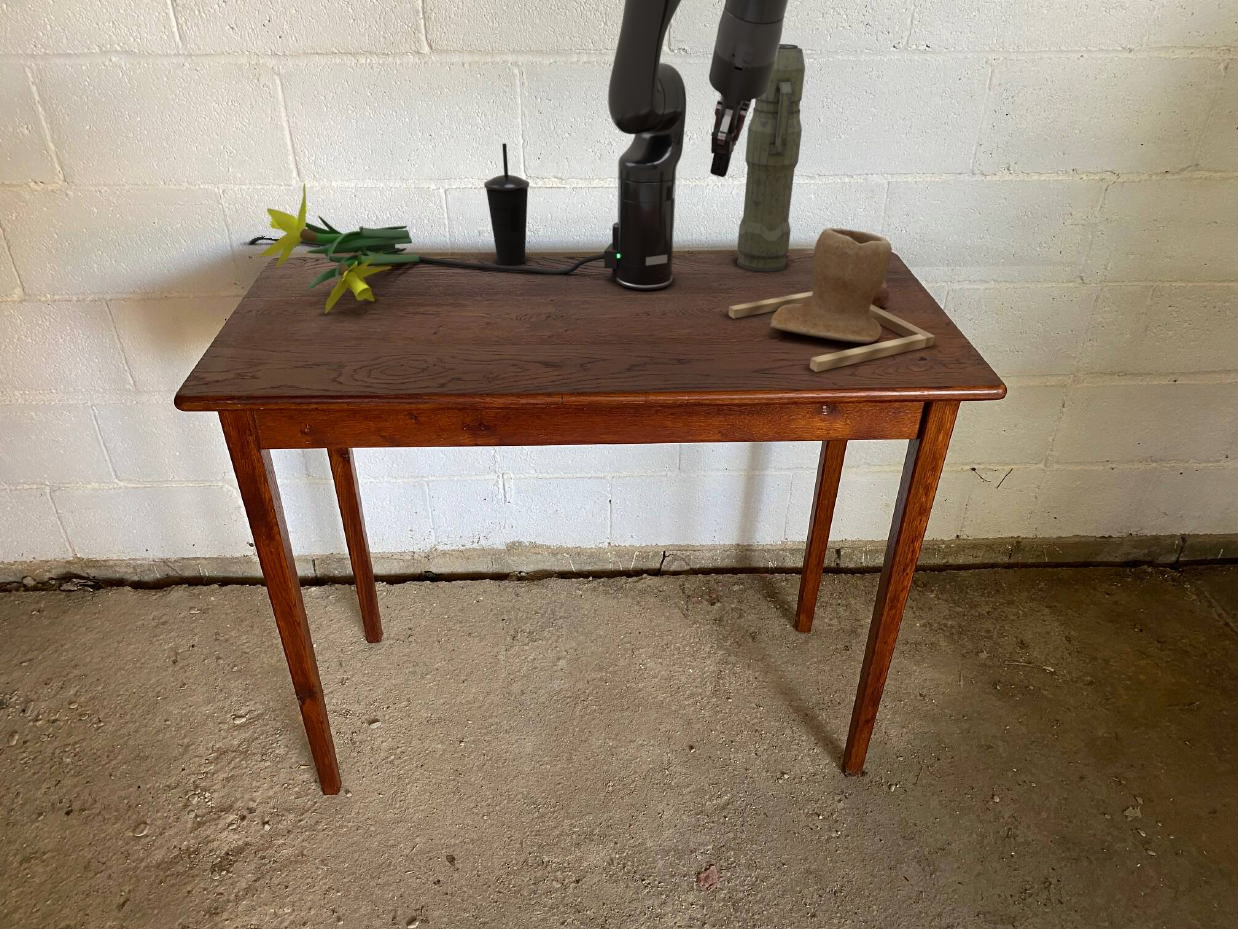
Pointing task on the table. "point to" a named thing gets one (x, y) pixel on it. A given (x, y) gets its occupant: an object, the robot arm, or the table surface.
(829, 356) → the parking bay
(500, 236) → the drinking cup
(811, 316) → the stone cup
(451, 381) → the table surface
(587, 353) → the table surface
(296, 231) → the daffodil flowers
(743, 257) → the thermos
